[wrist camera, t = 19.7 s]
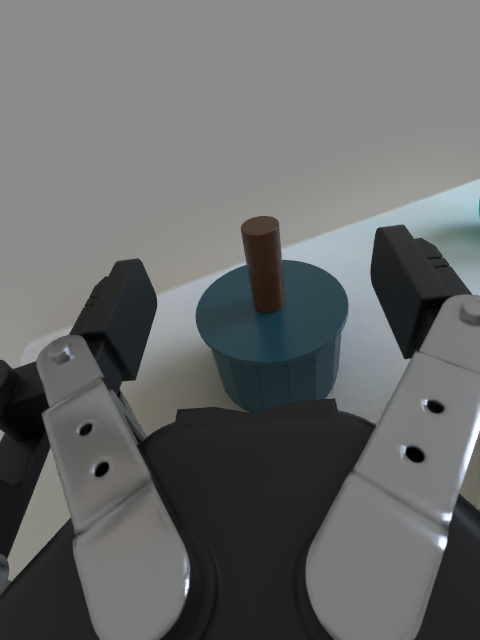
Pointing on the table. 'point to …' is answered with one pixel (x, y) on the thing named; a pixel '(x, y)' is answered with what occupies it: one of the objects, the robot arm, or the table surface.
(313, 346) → the lid
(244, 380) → the pot
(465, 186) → the table surface
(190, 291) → the table surface
